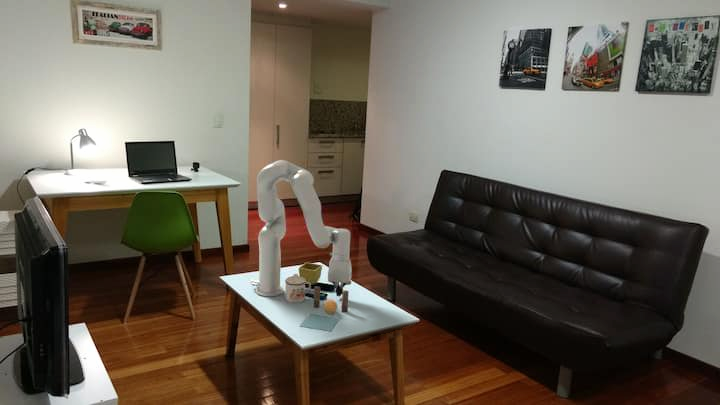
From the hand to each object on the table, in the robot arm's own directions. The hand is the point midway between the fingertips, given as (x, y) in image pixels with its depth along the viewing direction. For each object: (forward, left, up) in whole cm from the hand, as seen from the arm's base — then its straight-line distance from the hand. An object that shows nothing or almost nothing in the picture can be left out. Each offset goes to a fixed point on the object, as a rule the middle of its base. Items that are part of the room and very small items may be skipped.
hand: (339, 295), depth 252 cm
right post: (+6, -13, -2) cm, 15 cm away
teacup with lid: (-17, -7, -2) cm, 18 cm away
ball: (+1, -16, +1) cm, 16 cm away
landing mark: (0, -27, -2) cm, 27 cm away
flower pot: (-18, +12, -2) cm, 22 cm away
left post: (-6, -13, -2) cm, 15 cm away
